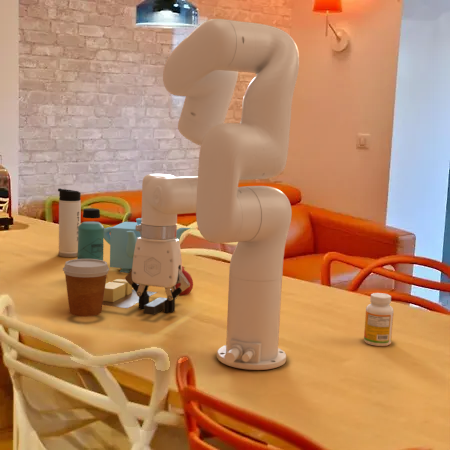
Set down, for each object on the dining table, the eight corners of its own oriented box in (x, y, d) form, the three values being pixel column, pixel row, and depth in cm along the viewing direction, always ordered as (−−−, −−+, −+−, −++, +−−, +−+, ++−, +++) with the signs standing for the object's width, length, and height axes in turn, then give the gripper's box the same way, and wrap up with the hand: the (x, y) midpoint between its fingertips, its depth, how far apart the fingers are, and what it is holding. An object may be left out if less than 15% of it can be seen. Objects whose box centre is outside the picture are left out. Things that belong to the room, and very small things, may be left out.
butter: (113, 302, 165) (113, 289, 165) (96, 300, 166) (97, 287, 166) (125, 296, 171) (125, 283, 170) (109, 294, 172) (109, 281, 171)
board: (127, 314, 161) (127, 308, 161) (78, 308, 165) (78, 301, 164) (157, 298, 176) (157, 292, 176) (111, 292, 180) (112, 286, 179)
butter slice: (127, 295, 172) (127, 282, 171) (111, 293, 173) (112, 280, 173) (132, 292, 174) (132, 280, 174) (116, 290, 175) (117, 278, 175)
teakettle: (96, 268, 206) (96, 215, 204) (154, 262, 217) (156, 212, 215) (128, 282, 191) (129, 225, 189) (189, 275, 202) (191, 221, 200)
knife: (153, 321, 157) (154, 306, 156) (143, 320, 157) (143, 305, 157) (180, 305, 171) (181, 291, 170) (171, 303, 172) (171, 290, 171)
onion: (188, 303, 173) (190, 269, 172) (165, 301, 174) (166, 267, 173) (194, 297, 178) (196, 264, 177) (171, 295, 180) (172, 262, 178)
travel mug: (55, 253, 223) (55, 187, 220) (77, 253, 226) (78, 187, 223) (60, 258, 217) (60, 189, 214) (82, 256, 220) (83, 189, 217)
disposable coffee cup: (63, 325, 151) (64, 268, 149) (61, 313, 160) (61, 258, 158) (110, 324, 153) (112, 267, 152) (105, 311, 162) (106, 258, 161)
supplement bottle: (371, 336, 153) (375, 290, 151) (395, 342, 149) (399, 295, 148) (358, 342, 148) (362, 294, 147) (383, 348, 145) (386, 300, 144)
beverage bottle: (70, 290, 180) (71, 208, 177) (87, 285, 186) (89, 205, 183) (92, 294, 177) (93, 211, 174) (108, 289, 183) (110, 208, 180)
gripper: (114, 231, 157) (112, 314, 160) (189, 238, 152) (186, 324, 155) (130, 226, 164) (128, 306, 167) (202, 233, 159) (199, 315, 162)
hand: (156, 314), depth 161 cm, fingers open, 5 cm apart
